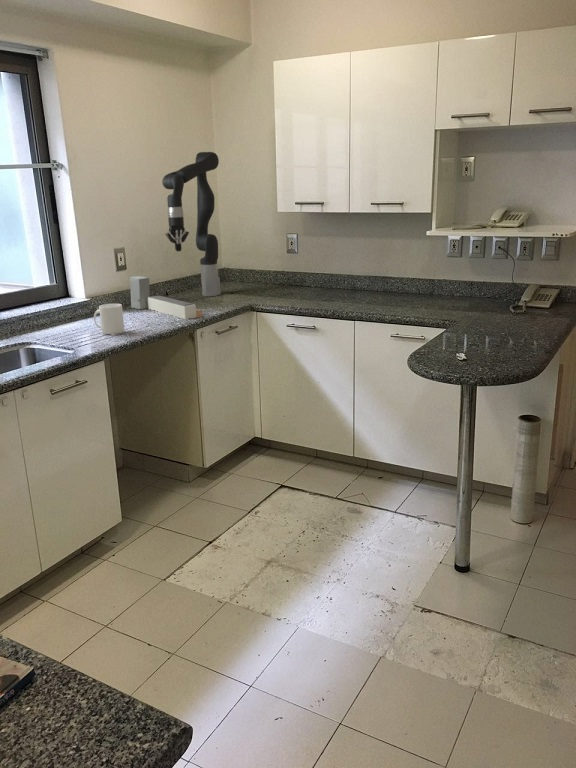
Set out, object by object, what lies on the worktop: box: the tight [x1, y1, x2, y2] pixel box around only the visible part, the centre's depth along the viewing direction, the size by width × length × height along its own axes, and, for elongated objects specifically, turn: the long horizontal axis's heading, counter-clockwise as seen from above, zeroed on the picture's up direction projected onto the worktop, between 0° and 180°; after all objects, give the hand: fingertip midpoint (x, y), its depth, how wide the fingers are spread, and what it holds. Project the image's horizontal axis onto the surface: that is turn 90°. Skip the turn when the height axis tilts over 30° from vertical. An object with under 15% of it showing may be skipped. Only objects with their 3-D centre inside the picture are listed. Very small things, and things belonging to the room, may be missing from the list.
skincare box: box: [129, 275, 151, 310], centre depth 329 cm, size 8×7×16 cm
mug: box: [93, 303, 125, 335], centre depth 278 cm, size 10×12×12 cm
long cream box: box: [148, 294, 203, 320], centre depth 316 cm, size 9×36×6 cm, turn 39°
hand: (178, 251), depth 332 cm, fingers closed
